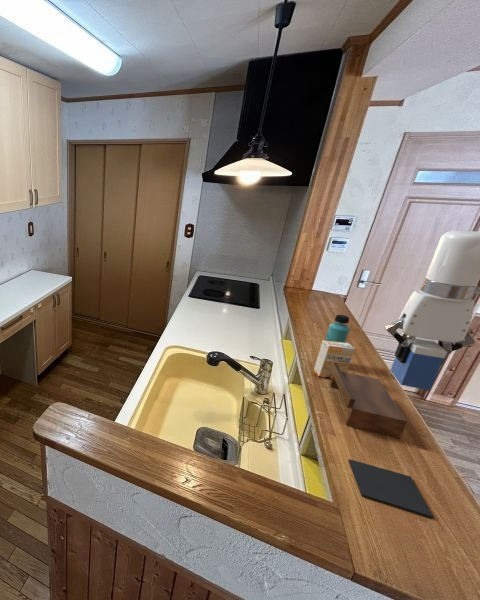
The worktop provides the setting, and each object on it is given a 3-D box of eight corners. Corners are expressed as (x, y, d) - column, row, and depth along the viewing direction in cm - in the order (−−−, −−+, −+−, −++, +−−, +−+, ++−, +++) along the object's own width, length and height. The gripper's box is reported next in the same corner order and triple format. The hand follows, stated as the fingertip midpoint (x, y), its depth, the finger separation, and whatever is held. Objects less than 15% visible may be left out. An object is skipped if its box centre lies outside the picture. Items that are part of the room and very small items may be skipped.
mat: (409, 478, 77) (410, 476, 77) (432, 518, 68) (433, 516, 68) (348, 460, 82) (348, 458, 82) (361, 496, 73) (362, 494, 73)
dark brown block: (372, 394, 108) (381, 371, 105) (399, 438, 89) (411, 412, 86) (325, 384, 113) (332, 362, 110) (341, 424, 95) (350, 398, 92)
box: (416, 375, 79) (432, 338, 75) (429, 390, 73) (447, 351, 70) (390, 370, 81) (404, 334, 78) (400, 384, 75) (416, 346, 72)
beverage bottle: (337, 360, 128) (352, 314, 121) (340, 368, 123) (355, 320, 116) (317, 356, 131) (331, 311, 124) (319, 364, 126) (333, 317, 119)
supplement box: (318, 377, 117) (328, 345, 112) (313, 370, 121) (322, 339, 117) (344, 380, 115) (355, 348, 111) (338, 373, 120) (348, 342, 115)
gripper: (492, 290, 69) (458, 364, 75) (388, 280, 76) (365, 348, 82) (516, 301, 62) (476, 381, 69) (401, 288, 70) (374, 362, 76)
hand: (416, 362), depth 75 cm, fingers closed on box, 5 cm apart
